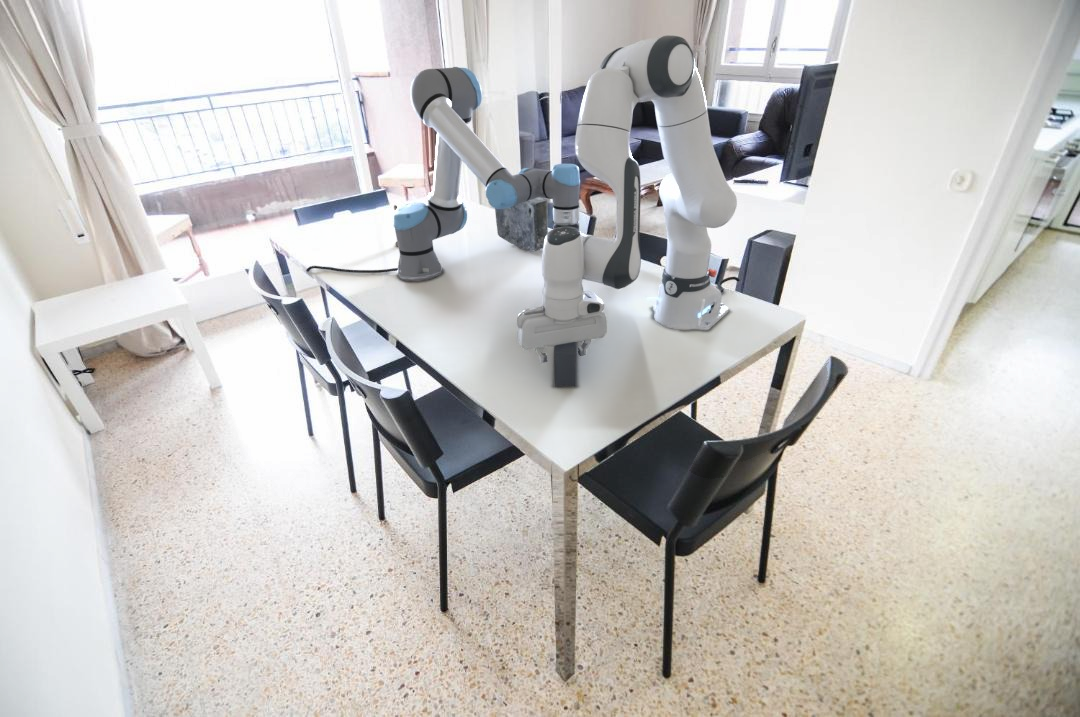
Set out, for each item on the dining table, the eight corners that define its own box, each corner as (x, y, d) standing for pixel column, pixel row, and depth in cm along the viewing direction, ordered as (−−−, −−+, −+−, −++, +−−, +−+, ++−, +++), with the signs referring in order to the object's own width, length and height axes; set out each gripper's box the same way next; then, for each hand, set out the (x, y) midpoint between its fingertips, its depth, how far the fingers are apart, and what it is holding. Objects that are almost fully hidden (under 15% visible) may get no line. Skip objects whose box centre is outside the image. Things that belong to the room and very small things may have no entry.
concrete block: (553, 252, 189) (552, 199, 179) (534, 258, 185) (532, 204, 175) (514, 236, 208) (511, 187, 198) (496, 241, 204) (492, 191, 193)
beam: (559, 291, 159) (558, 265, 155) (574, 291, 159) (574, 265, 154) (554, 386, 114) (553, 353, 109) (575, 386, 113) (575, 353, 109)
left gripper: (534, 226, 140) (537, 301, 152) (598, 225, 139) (595, 301, 151) (535, 218, 146) (538, 291, 158) (596, 217, 145) (594, 291, 157)
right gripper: (520, 317, 103) (523, 372, 110) (611, 303, 108) (608, 357, 115) (513, 304, 108) (516, 358, 116) (600, 292, 113) (597, 344, 120)
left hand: (566, 296), depth 155 cm, fingers closed on beam, 5 cm apart
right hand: (562, 358), depth 115 cm, fingers open, 8 cm apart
